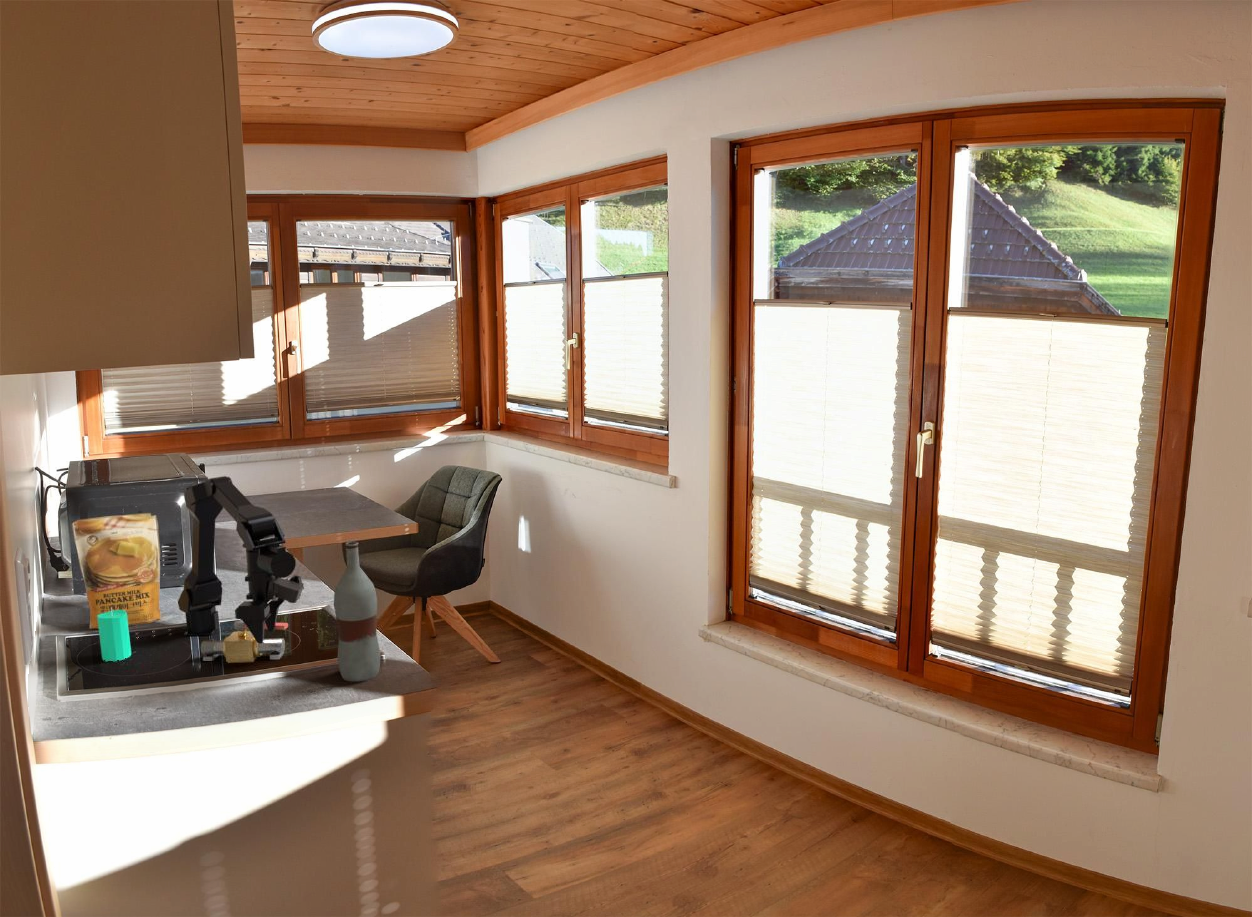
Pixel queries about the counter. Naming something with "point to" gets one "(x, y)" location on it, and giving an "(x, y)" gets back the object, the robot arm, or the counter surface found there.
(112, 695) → the counter surface
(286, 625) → the lever
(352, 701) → the counter surface
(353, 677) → the vodka
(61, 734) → the counter surface
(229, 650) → the valve
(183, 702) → the counter surface
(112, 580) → the pancake mix bag
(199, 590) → the robot arm
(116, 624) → the candle
